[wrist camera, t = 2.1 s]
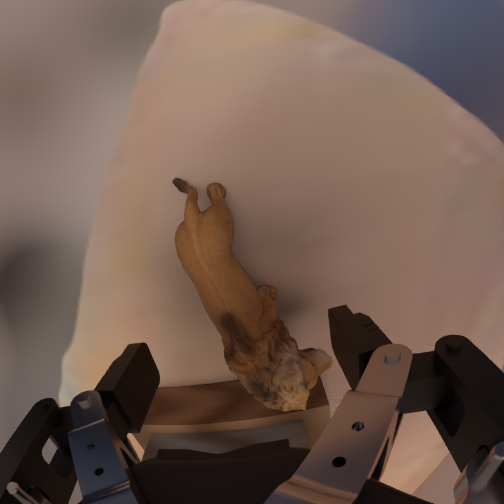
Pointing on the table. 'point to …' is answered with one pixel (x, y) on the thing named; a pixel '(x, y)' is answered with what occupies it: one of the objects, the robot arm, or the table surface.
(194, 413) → the wooden box
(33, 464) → the robot arm
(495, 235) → the table surface
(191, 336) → the table surface
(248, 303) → the lion figurine
